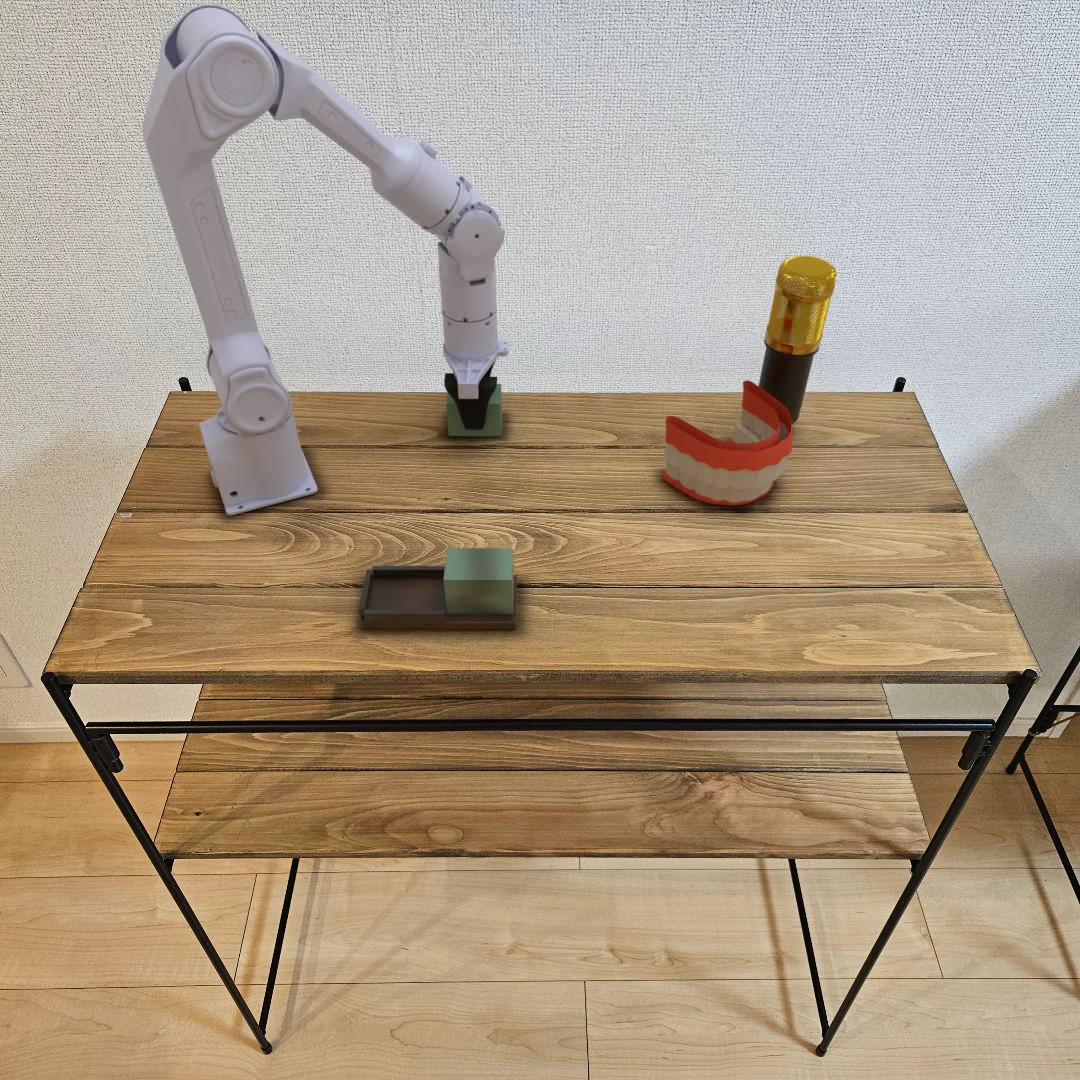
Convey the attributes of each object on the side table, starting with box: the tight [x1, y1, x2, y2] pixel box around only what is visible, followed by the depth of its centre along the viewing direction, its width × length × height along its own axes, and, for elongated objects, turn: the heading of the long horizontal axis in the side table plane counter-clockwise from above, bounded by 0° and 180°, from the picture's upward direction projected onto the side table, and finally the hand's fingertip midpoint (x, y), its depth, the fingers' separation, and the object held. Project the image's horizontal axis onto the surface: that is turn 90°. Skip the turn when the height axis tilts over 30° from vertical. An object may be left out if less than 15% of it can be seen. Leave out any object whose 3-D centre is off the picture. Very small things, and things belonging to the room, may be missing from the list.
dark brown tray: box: [358, 547, 518, 631], centre depth 81 cm, size 14×6×6 cm, turn 90°
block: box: [445, 383, 503, 437], centre depth 101 cm, size 6×4×4 cm, turn 90°
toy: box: [662, 379, 794, 506], centre depth 93 cm, size 12×10×8 cm
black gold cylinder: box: [757, 255, 838, 426], centre depth 96 cm, size 6×13×20 cm, turn 94°
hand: (475, 416), depth 102 cm, fingers closed on block, 4 cm apart
